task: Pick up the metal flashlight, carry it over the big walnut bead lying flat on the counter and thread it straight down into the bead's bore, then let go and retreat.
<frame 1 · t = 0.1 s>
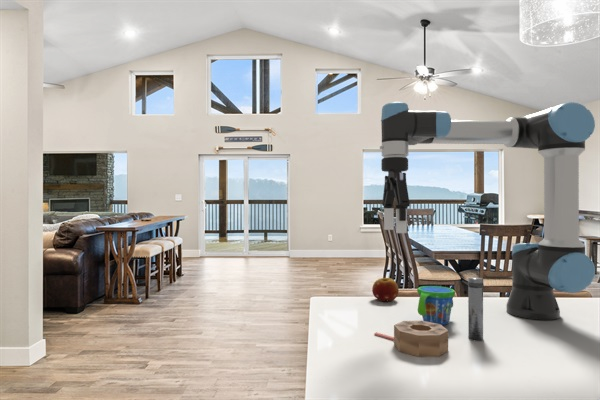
hand: (394, 231, 119), 28 cm above the kitchen island, fingers open, 13 cm apart
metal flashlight: (475, 338, 110), on the kitchen island
fruit: (385, 300, 153), on the kitchen island
bead: (420, 347, 103), on the kitchen island
snack cup: (436, 323, 125), on the kitchen island
pink stick: (394, 339, 109), on the kitchen island
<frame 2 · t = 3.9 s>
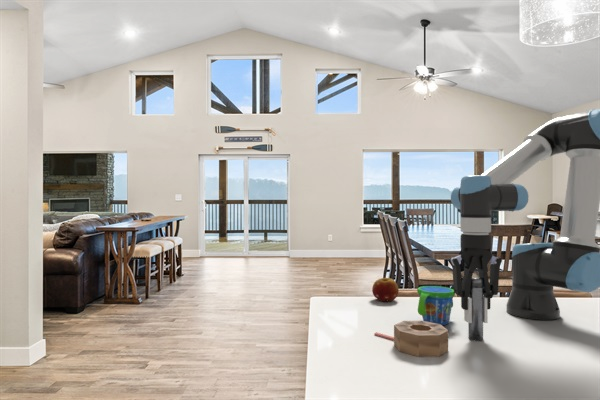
hand: (475, 321, 110), 5 cm above the kitchen island, fingers closed on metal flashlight, 3 cm apart
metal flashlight: (475, 338, 110), on the kitchen island, touching gripper
everything else where it was.
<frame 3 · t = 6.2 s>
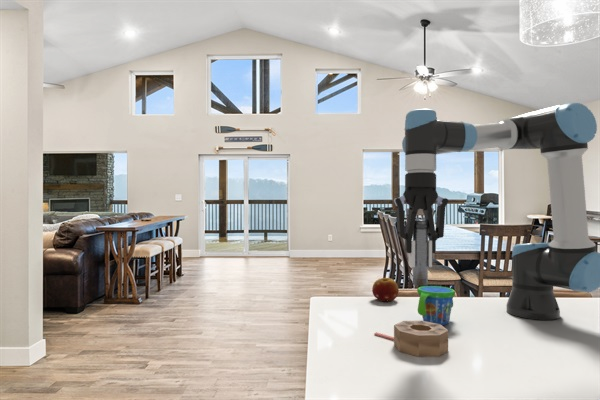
hand: (420, 266, 103), 20 cm above the kitchen island, fingers closed on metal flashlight, 3 cm apart
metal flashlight: (420, 284, 103), point 16 cm above the kitchen island, touching gripper
everything else where it was.
when the fingers open (7 cm above the kitchen island, at t = 8.7 s): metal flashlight drops 2 cm, resting in bead.
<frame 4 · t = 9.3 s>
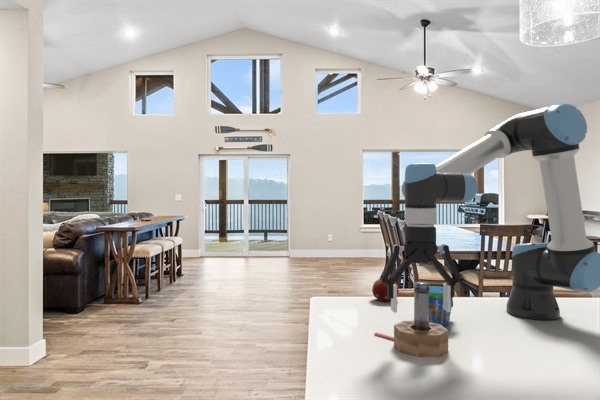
hand: (420, 311, 103), 9 cm above the kitchen island, fingers open, 13 cm apart
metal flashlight: (421, 347, 103), resting in bead
everything else where it was.
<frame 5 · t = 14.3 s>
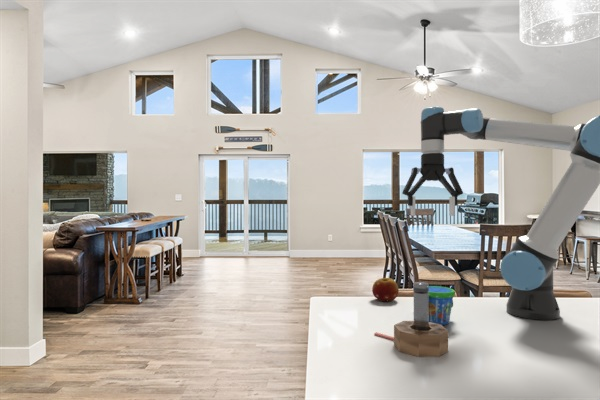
hand: (432, 215, 141), 32 cm above the kitchen island, fingers open, 13 cm apart
nothing on the kitchen island moved.
at the end: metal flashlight 0.2 cm off-centre on the bead, point 0.0 cm above the bead's base; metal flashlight tilted 0°; the gripper is holding nothing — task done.
